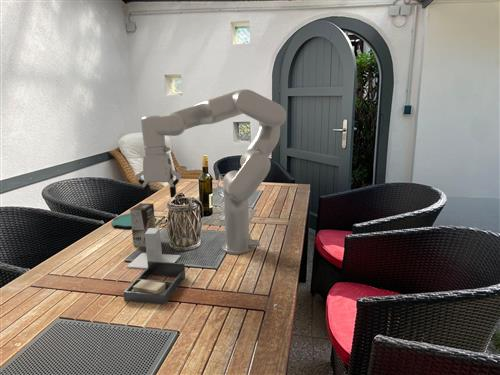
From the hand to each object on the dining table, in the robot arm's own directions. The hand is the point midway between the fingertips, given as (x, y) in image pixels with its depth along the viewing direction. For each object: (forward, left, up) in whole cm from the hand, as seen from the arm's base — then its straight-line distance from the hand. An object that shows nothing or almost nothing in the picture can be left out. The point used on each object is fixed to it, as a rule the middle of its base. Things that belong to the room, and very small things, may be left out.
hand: (160, 196), depth 136 cm
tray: (-7, +23, -24) cm, 34 cm away
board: (+2, +5, -24) cm, 25 cm away
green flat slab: (+27, -36, -25) cm, 51 cm away
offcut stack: (-7, +28, -24) cm, 38 cm away
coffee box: (+14, -12, -24) cm, 30 cm away
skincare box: (+2, +5, -24) cm, 24 cm away
